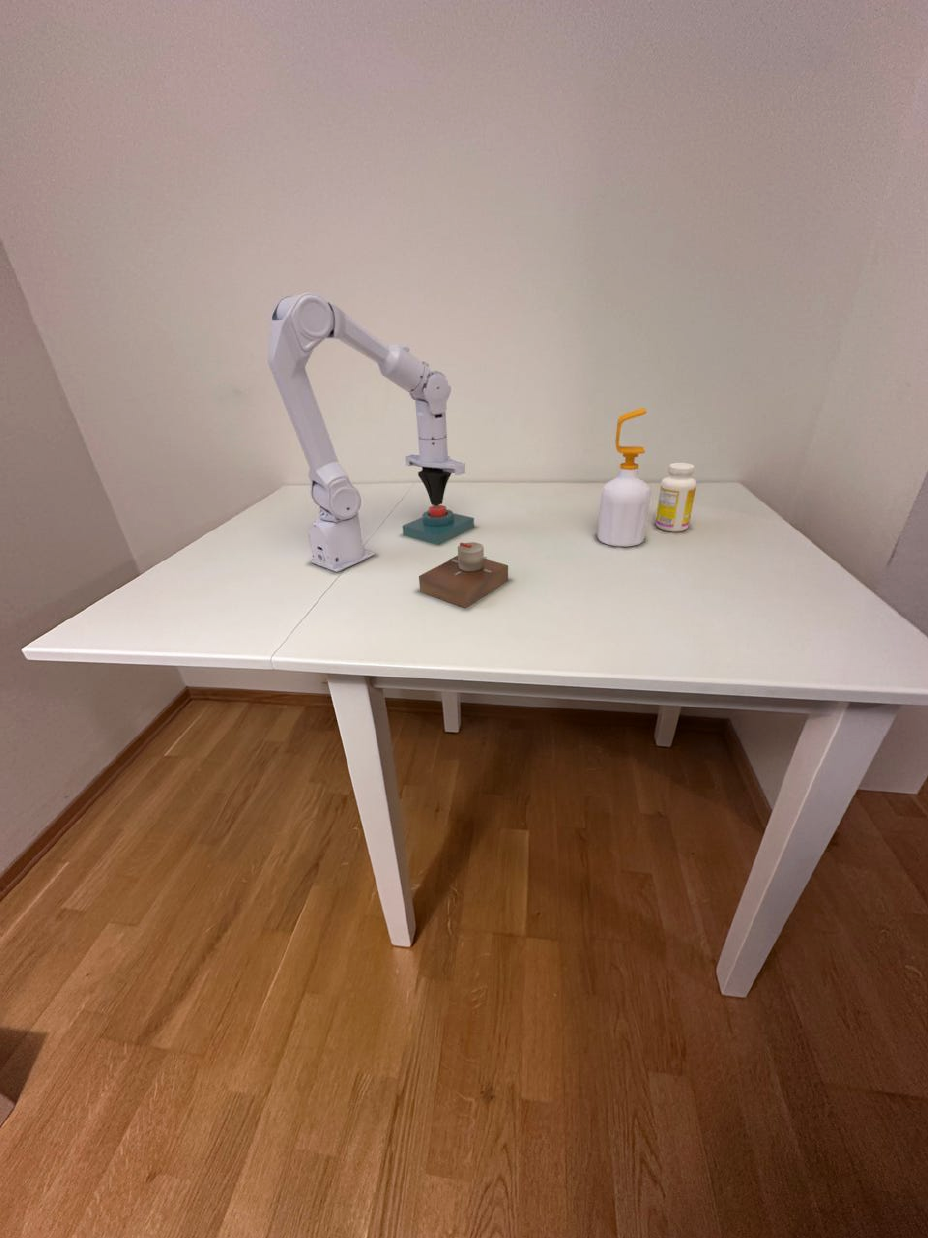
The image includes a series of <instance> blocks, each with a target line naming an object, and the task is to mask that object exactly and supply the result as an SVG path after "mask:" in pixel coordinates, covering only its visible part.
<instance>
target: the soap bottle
mask: <svg viewBox="0 0 928 1238" xmlns="http://www.w3.org/2000/svg"><path fill="white" fill-rule="evenodd" d="M646 414H647V410H646V408H645V407H643V408H639V409H636V410H633V411H629V412H626V413H623V414H621V415H620V416H619V418H618V419H617V424H616V432H615V441H614V442H615V448H616V451H617V452H618V453H619V454H622V457H623V458H624V462H622V463H620V465H619V471H618V472H619V473H618V475H617V476H616V477H614V478H613V479H610V480H609V481H608V482H607V483H605V484H604V486H603V488H602V490H601V493H600V503H599V513H598V523H597V534H596V537H597V539H598V540H599V541H600V542H601V543H603V544H604V545H608V546H611V547H619V548H628V547H634V546H638V545H640V544H641V543H642V542H644V539H645V534H646V527H647V521H648V520H647V519H648V514H649V508H650V507H649V506H650V499H651V494H652V491H651V488H650V486H649V485H648V484H647V483H646V482H645V481H644V480H642V479H640V477H638V472H639V463H635V461H636V460H635V459H636V458H638V457H639V454H640V455H642V454H645V452H646V451H645V450H646V449H645V447H644V446H634V445H632V446H631V445H630V446H628V445H627V446H626V445H625V446H624V445H623V446H622V445H620V437H621V429H622V425H623V423H624V422H626V421H628V420H631V419H634V418H637V417H640V416H644V415H646Z"/></svg>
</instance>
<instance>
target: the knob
mask: <svg viewBox="0 0 928 1238" xmlns="http://www.w3.org/2000/svg"><path fill="white" fill-rule="evenodd" d="M484 548H485V547H484V545H483V544H482V543H479V542H459V545H458V546H457V556H458V564H459V568H460V569H461V570H464V571H477V570H480V569H482V568H483V567H484V557H485V549H484Z"/></svg>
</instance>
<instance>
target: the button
mask: <svg viewBox="0 0 928 1238" xmlns="http://www.w3.org/2000/svg"><path fill="white" fill-rule="evenodd" d="M446 509H447V506H446V505H443V504H439V505H437V506H435V505H431V506H429V508H428V510H429V513H430V516H431V517H443V516H445V515H446Z"/></svg>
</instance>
